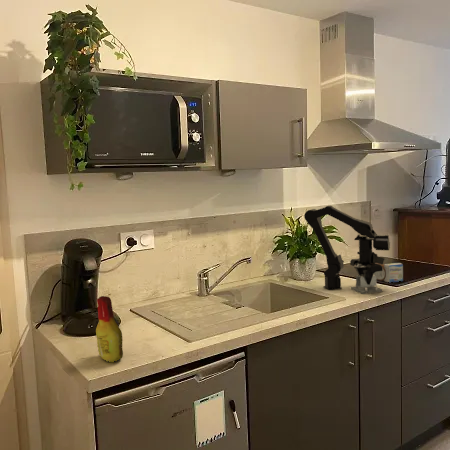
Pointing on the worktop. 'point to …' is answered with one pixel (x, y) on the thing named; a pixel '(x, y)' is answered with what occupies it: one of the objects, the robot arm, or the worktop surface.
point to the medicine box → (393, 272)
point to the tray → (366, 289)
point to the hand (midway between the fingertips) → (366, 283)
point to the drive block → (362, 281)
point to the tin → (380, 274)
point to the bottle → (108, 332)
